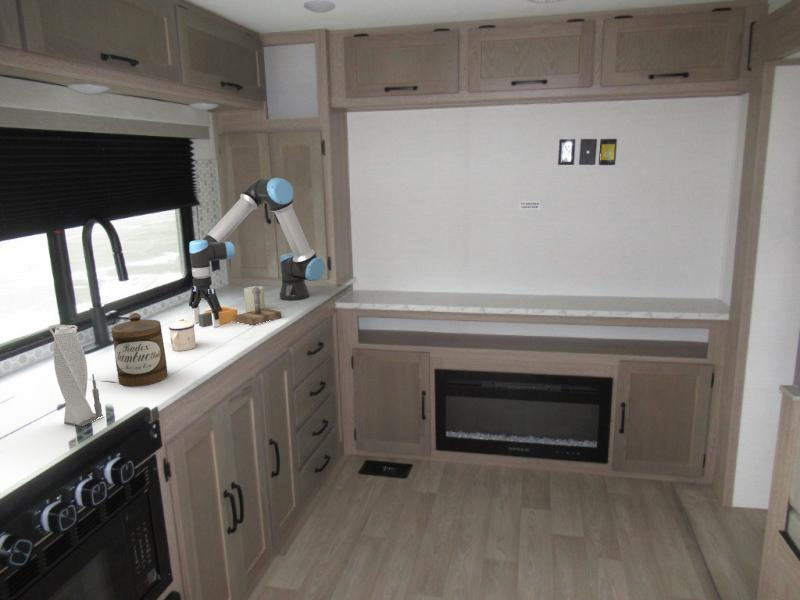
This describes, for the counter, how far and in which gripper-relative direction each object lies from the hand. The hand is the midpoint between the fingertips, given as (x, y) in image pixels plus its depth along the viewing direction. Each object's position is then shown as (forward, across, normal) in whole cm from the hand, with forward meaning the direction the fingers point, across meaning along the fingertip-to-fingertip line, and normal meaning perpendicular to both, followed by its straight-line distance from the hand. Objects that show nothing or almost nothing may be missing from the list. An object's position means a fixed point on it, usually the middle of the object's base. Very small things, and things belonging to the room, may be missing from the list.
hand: (206, 324), depth 258 cm
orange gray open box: (0, 0, +5) cm, 5 cm away
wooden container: (+1, +40, -52) cm, 66 cm away
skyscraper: (+1, +57, -80) cm, 98 cm away
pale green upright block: (0, 0, +27) cm, 27 cm away
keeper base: (0, +13, +18) cm, 22 cm away
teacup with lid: (0, +22, -26) cm, 34 cm away
